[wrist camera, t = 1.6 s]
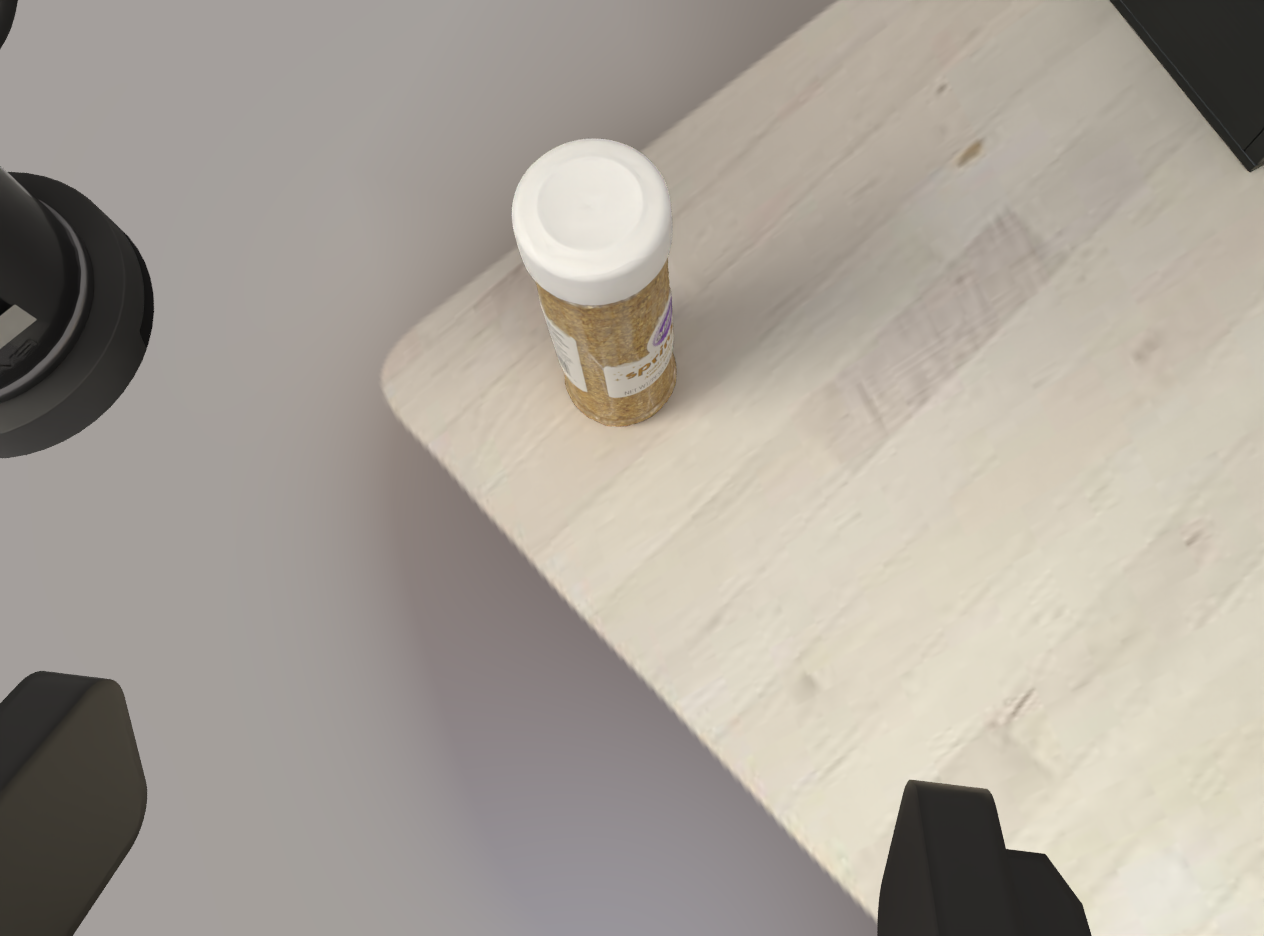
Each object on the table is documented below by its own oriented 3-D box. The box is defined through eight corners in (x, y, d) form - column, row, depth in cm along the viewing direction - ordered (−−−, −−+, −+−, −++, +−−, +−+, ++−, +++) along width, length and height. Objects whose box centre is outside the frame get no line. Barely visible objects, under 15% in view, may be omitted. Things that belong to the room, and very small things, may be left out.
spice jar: (672, 432, 41) (665, 282, 29) (558, 425, 42) (499, 273, 29) (681, 325, 43) (677, 134, 30) (569, 318, 43) (517, 127, 30)
